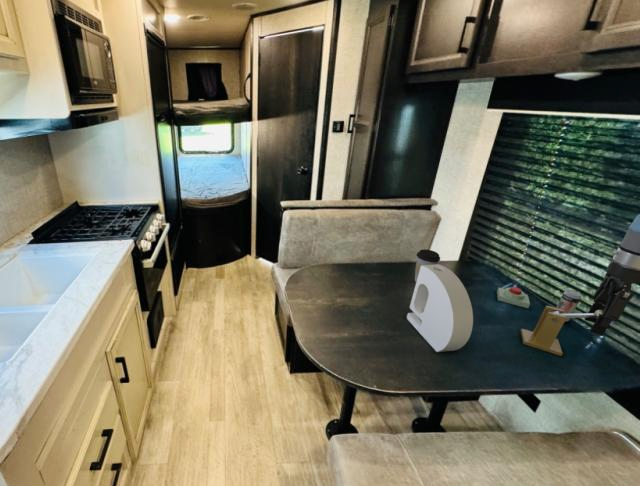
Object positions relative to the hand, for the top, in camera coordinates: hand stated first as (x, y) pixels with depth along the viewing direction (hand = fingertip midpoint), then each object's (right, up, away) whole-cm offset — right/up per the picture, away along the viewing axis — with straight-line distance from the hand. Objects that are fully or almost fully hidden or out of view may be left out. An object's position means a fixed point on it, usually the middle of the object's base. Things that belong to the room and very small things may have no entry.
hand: (593, 326), depth 101 cm
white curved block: (-44, -7, +13) cm, 47 cm away
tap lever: (-3, +2, +2) cm, 4 cm away
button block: (+3, +2, +33) cm, 33 cm away
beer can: (+12, -3, +22) cm, 25 cm away
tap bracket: (-8, -9, +10) cm, 15 cm away
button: (+3, +5, +32) cm, 32 cm away
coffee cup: (-29, +8, +46) cm, 55 cm away
